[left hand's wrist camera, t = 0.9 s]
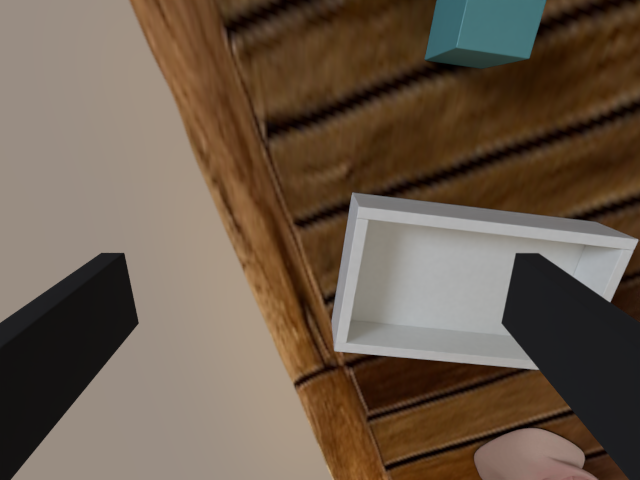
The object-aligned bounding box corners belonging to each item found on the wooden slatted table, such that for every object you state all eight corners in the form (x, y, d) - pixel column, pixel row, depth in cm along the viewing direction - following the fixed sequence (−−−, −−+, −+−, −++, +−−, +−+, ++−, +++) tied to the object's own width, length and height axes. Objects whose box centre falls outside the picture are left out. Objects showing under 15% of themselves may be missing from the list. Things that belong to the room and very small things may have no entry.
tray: (331, 321, 39) (334, 351, 34) (352, 192, 34) (358, 206, 29) (547, 342, 40) (578, 373, 36) (596, 221, 35) (639, 239, 31)
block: (438, -11, 28) (476, -45, 22) (500, -1, 29) (556, -32, 22) (424, 60, 30) (455, 48, 24) (482, 68, 30) (529, 59, 24)
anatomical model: (470, 495, 42) (549, 437, 39) (457, 463, 46) (529, 408, 43) (540, 541, 46) (619, 490, 43) (523, 508, 49) (594, 459, 46)
